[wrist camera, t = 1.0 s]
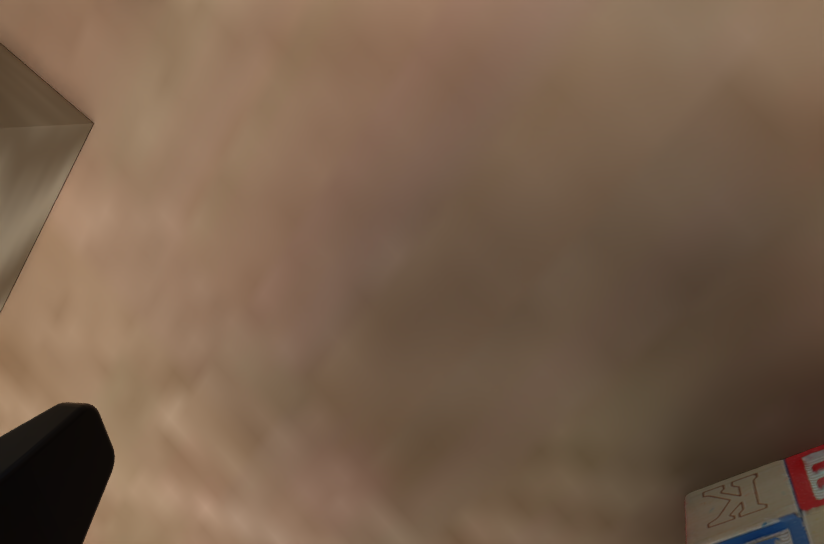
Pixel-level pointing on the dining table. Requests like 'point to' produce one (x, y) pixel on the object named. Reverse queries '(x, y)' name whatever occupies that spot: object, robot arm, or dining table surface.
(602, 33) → the dining table surface
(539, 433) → the dining table surface
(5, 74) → the beige stepped piece
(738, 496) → the stack of blocks
